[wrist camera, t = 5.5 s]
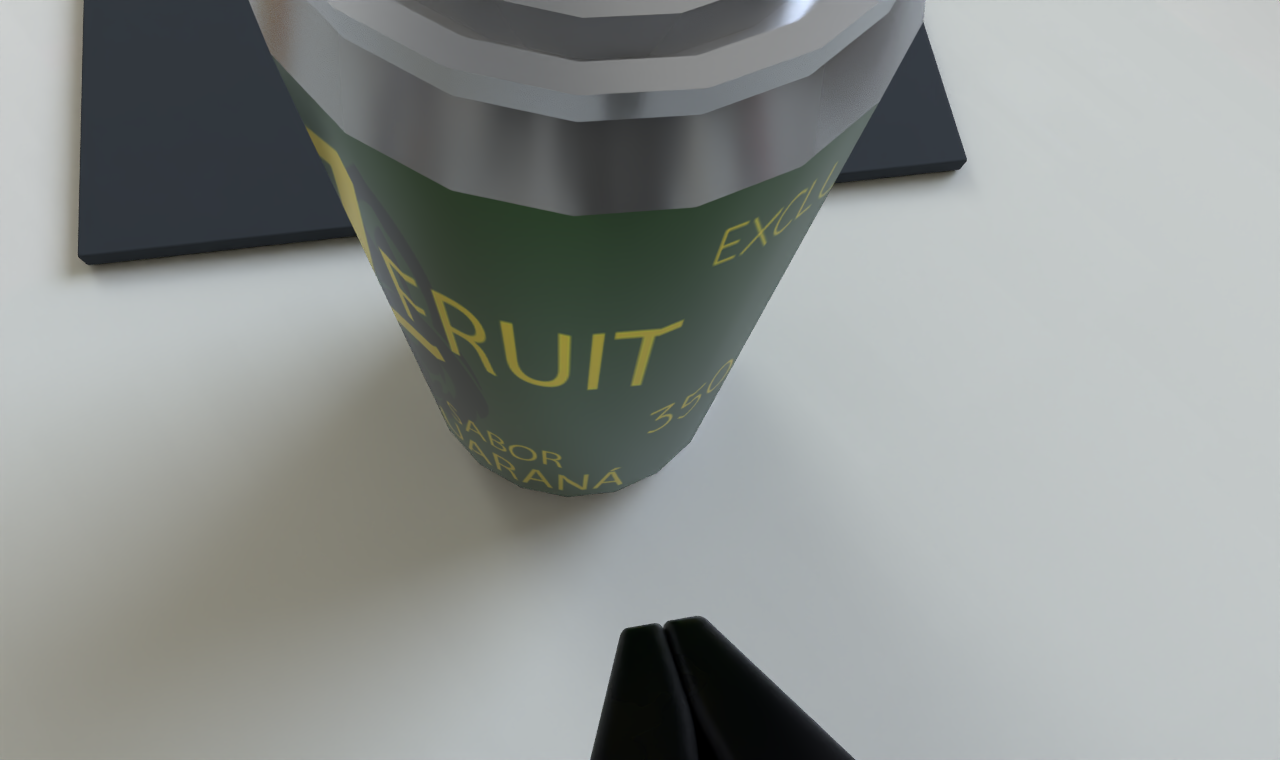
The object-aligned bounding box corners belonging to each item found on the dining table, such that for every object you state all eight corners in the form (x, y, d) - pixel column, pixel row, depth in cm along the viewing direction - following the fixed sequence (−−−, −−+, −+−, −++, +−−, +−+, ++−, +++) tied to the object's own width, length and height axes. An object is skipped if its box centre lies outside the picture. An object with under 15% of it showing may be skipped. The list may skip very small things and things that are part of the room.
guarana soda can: (500, 206, 18) (393, -566, 7) (746, 296, 18) (1059, -343, 7) (388, 444, 16) (-6, -58, 5) (659, 546, 16) (878, 259, 5)
